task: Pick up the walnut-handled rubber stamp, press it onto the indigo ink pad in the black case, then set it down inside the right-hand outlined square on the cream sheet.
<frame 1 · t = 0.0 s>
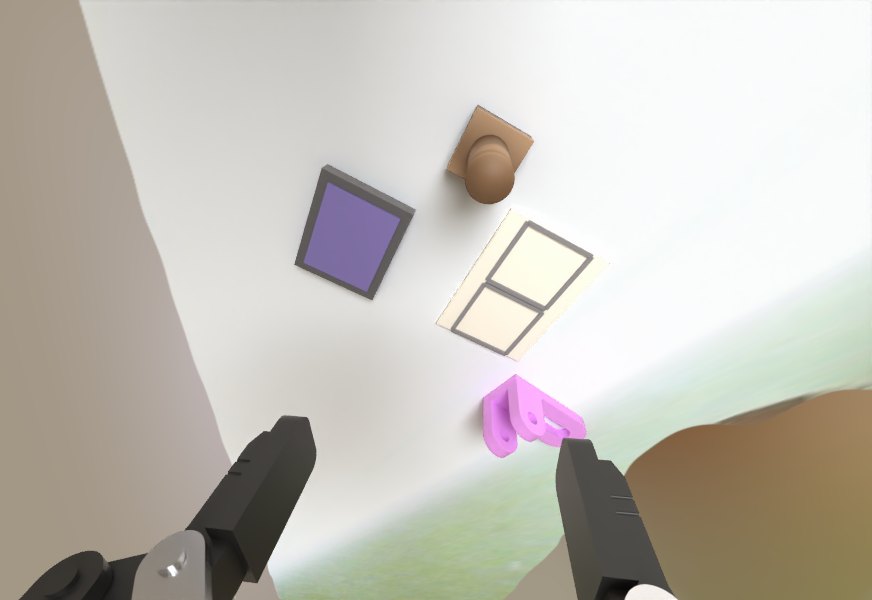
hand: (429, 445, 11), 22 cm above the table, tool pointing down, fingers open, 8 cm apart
ink pad: (353, 235, 32), on the table
bracket: (538, 409, 43), on the table
stamp: (488, 149, 27), on the table
sheet: (515, 294, 34), on the table
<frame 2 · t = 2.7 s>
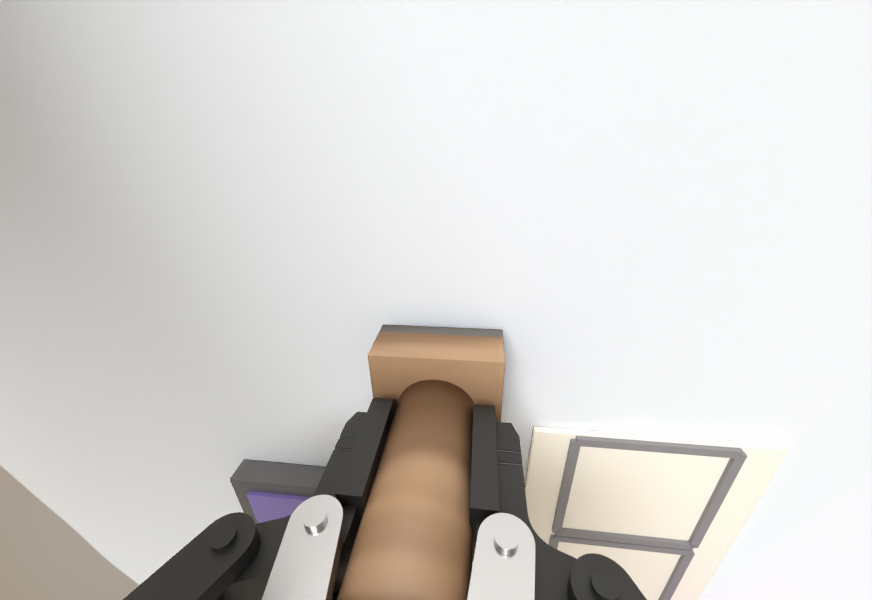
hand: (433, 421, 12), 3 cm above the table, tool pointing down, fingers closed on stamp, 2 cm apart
ink pad: (328, 523, 21), on the table
stamp: (442, 375, 14), point 1 cm above the table, touching gripper
sheet: (619, 533, 18), on the table
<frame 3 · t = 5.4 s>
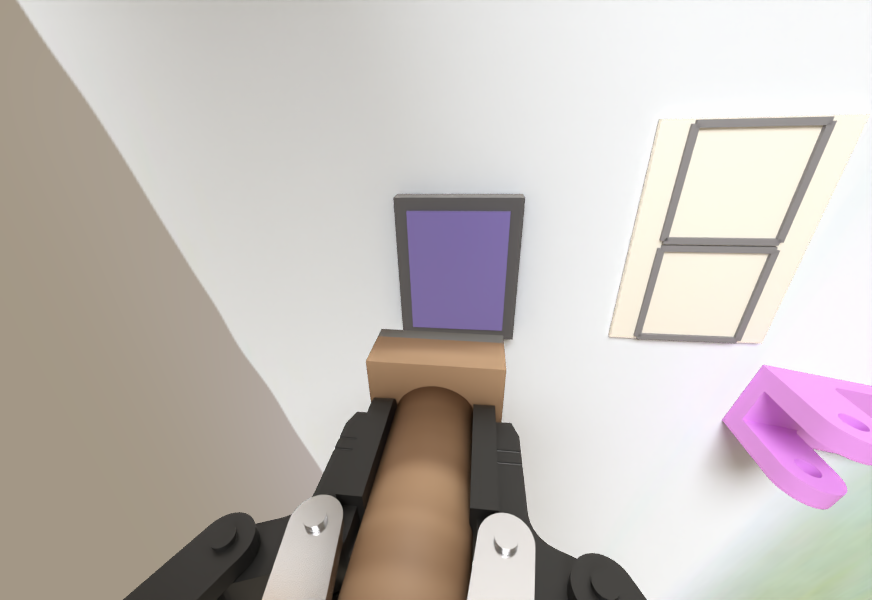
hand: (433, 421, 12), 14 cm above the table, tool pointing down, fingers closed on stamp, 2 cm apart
ink pad: (458, 267, 25), on the table
bracket: (824, 407, 27), on the table
stamp: (441, 380, 14), point 12 cm above the table, touching gripper
sheet: (714, 243, 22), on the table
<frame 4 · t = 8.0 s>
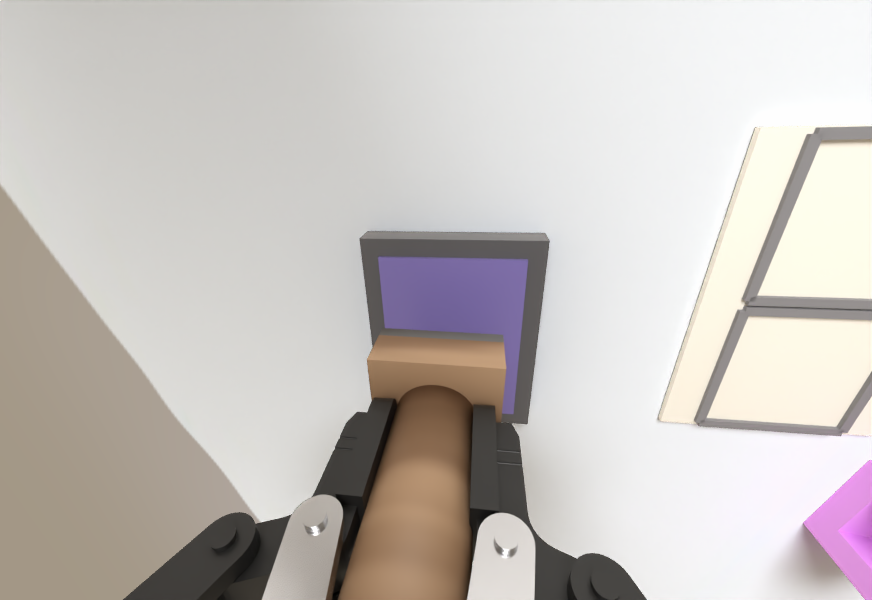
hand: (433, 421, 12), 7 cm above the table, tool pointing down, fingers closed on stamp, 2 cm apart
ink pad: (453, 327, 18), on the table
stamp: (441, 379, 14), point 4 cm above the table, touching gripper
sheet: (822, 304, 15), on the table
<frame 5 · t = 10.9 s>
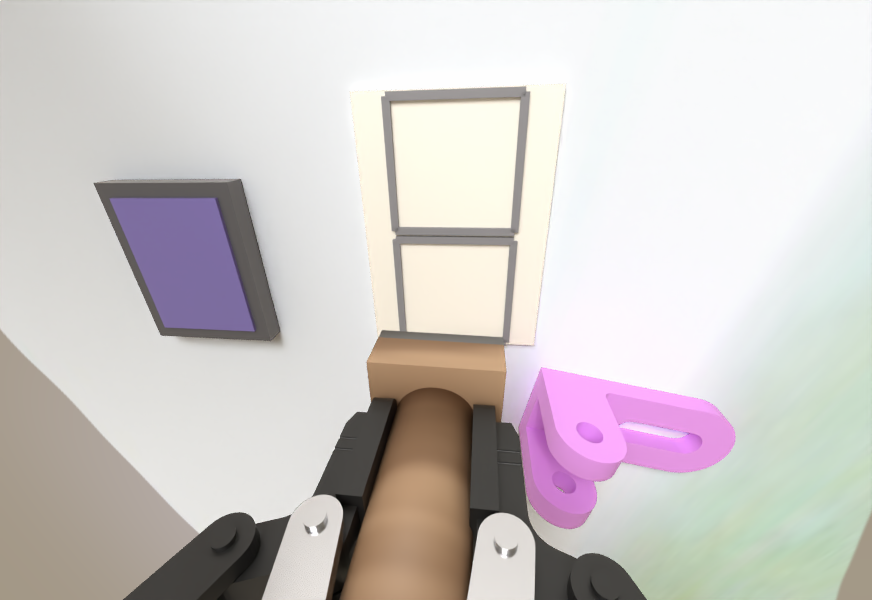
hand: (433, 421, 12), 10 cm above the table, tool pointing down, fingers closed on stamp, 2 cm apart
ink pad: (203, 261, 22), on the table
bracket: (621, 414, 25), on the table
stamp: (441, 381, 14), point 8 cm above the table, touching gripper
sheet: (454, 233, 20), on the table
when the fingers open (4 cm above the table, at t = 13.3 s): stamp drops 1 cm, resting on sheet.
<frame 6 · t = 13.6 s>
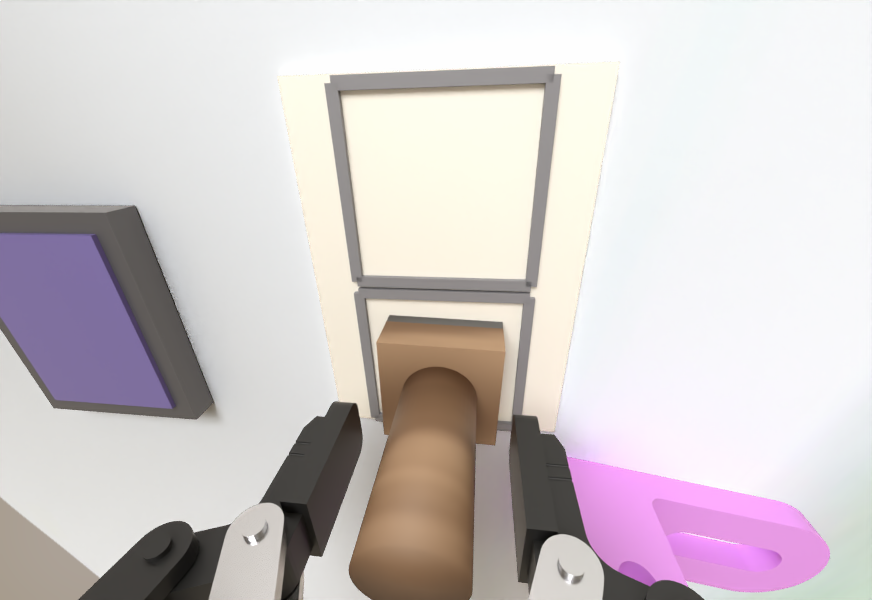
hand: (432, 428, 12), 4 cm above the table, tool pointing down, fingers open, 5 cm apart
ink pad: (101, 314, 16), on the table
bracket: (665, 511, 18), on the table
stamp: (444, 364, 15), resting on sheet
sheet: (443, 284, 14), on the table
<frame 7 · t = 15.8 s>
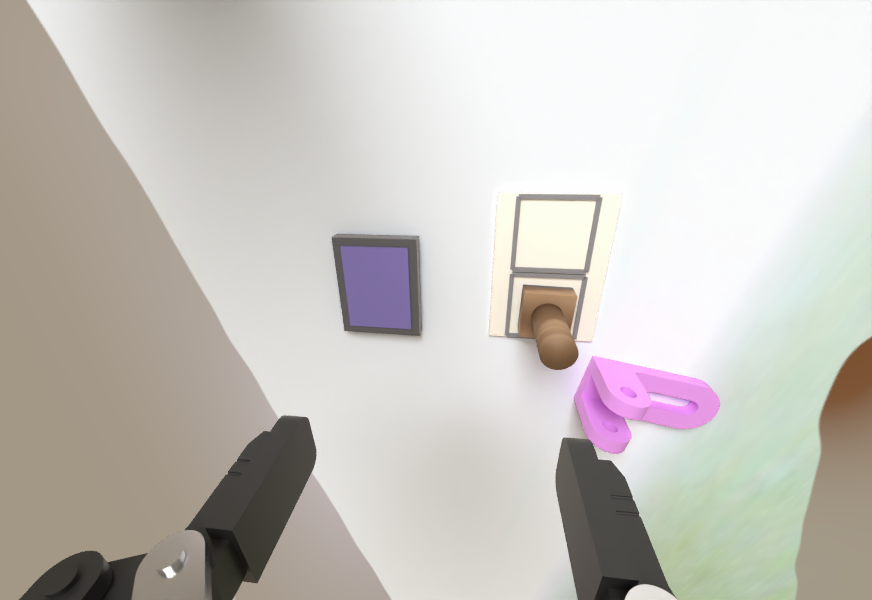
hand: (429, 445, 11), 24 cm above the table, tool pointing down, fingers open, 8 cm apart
ink pad: (381, 284, 35), on the table
bracket: (644, 389, 37), on the table
stamp: (544, 307, 34), resting on sheet
sheet: (547, 271, 32), on the table
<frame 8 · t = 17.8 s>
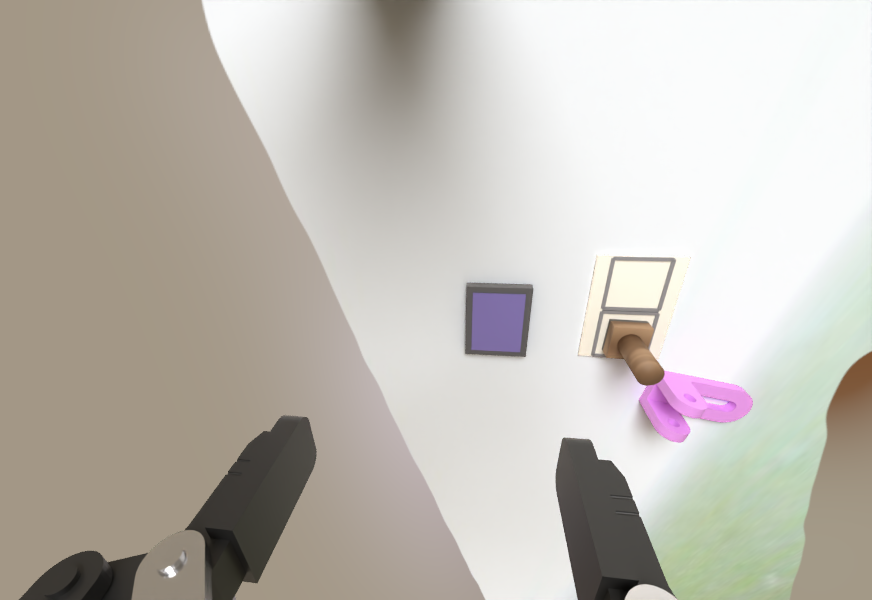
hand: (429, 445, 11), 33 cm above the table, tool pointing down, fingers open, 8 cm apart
ink pad: (496, 318, 46), on the table
bracket: (693, 392, 48), on the table
stamp: (623, 335, 45), resting on sheet
sheet: (628, 309, 44), on the table
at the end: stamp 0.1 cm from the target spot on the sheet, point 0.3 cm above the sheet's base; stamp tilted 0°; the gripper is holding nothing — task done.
